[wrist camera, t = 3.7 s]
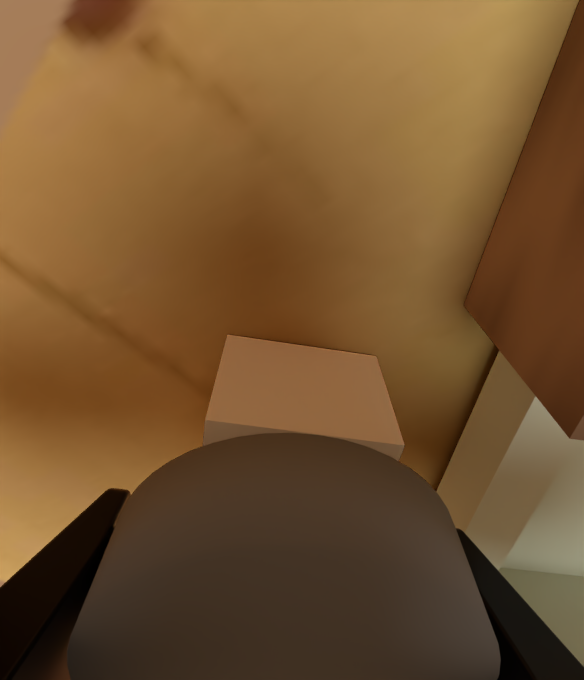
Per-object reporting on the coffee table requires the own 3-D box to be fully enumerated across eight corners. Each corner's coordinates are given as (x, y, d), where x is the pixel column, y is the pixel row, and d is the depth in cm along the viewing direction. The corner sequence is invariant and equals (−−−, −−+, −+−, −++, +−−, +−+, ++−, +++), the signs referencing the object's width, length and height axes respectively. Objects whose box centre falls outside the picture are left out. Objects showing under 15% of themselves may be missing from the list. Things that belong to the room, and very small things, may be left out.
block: (376, 356, 12) (404, 445, 9) (343, 465, 14) (358, 569, 11) (227, 334, 12) (205, 420, 9) (214, 449, 14) (193, 552, 11)
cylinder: (512, 460, 7) (581, 575, 6) (402, 667, 10) (424, 783, 9) (109, 407, 7) (47, 516, 5) (117, 641, 10) (80, 758, 8)
